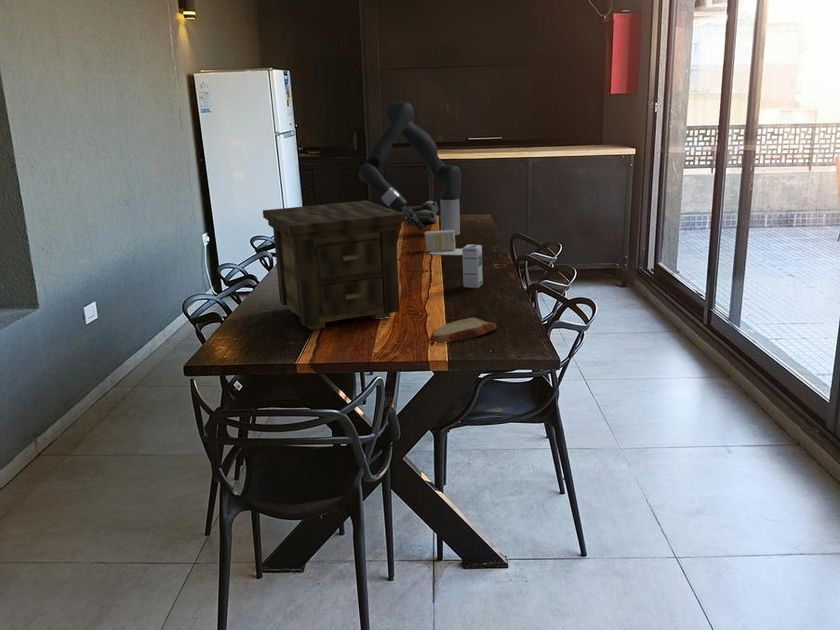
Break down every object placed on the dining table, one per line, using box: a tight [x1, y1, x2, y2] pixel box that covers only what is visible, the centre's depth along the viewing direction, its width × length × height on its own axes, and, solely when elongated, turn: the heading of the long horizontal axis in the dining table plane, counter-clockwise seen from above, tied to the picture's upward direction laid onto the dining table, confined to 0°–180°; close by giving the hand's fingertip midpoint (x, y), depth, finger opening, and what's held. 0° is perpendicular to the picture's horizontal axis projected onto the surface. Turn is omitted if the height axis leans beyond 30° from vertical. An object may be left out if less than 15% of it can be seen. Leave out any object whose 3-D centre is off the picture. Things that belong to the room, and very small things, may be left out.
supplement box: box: [423, 230, 456, 253], centre depth 320 cm, size 8×5×13 cm
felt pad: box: [428, 248, 462, 256], centre depth 318 cm, size 12×18×1 cm, turn 75°
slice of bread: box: [430, 316, 497, 344], centre depth 210 cm, size 18×18×4 cm
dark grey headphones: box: [415, 200, 439, 224], centre depth 391 cm, size 15×12×14 cm
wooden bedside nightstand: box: [262, 200, 407, 331], centre depth 230 cm, size 35×35×33 cm
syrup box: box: [461, 244, 484, 289], centre depth 260 cm, size 6×6×14 cm
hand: (422, 228), depth 318 cm, fingers closed
